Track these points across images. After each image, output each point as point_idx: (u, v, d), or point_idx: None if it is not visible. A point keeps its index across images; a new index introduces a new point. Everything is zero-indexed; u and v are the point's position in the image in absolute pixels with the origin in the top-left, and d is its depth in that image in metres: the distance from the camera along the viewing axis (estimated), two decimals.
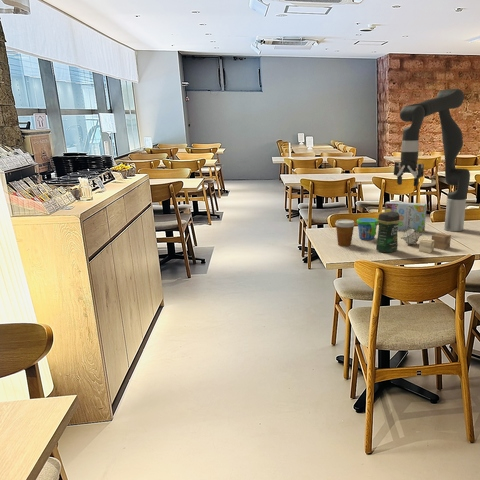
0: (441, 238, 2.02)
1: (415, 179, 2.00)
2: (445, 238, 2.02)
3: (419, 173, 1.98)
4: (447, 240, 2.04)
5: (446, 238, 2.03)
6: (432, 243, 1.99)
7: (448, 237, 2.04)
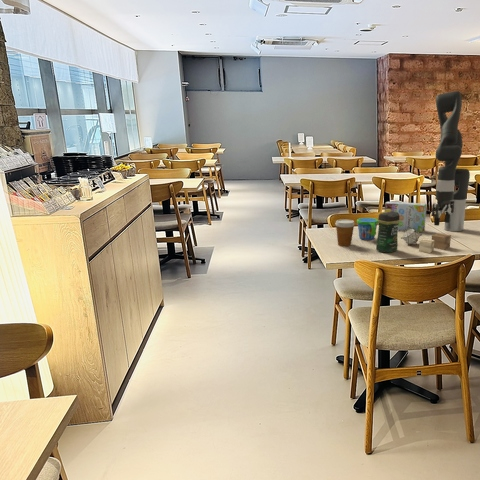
0: (441, 238, 2.02)
1: (449, 216, 2.05)
2: (445, 238, 2.02)
3: (453, 209, 2.05)
4: (447, 240, 2.04)
5: (446, 238, 2.03)
6: (432, 243, 1.99)
7: (448, 237, 2.03)
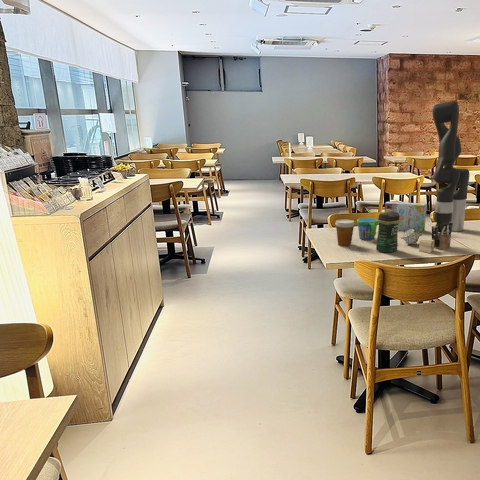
0: (441, 238, 2.02)
1: None
2: (445, 238, 2.02)
3: (450, 231, 2.07)
4: (447, 239, 2.04)
5: (446, 238, 2.03)
6: (432, 243, 1.99)
7: (448, 237, 2.03)
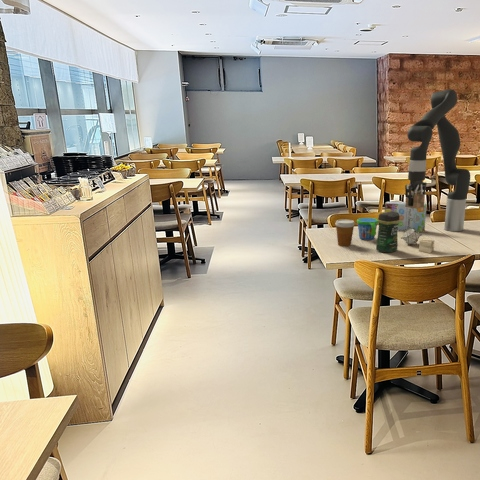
0: (415, 197, 2.03)
1: None
2: (419, 197, 2.03)
3: (424, 191, 2.08)
4: (421, 199, 2.04)
5: (420, 197, 2.04)
6: (432, 243, 1.99)
7: (422, 196, 2.04)
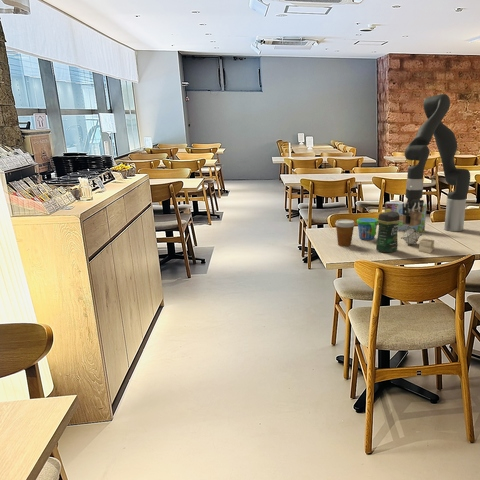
0: (412, 214, 2.06)
1: None
2: (416, 214, 2.06)
3: (422, 208, 2.11)
4: (418, 216, 2.07)
5: (417, 214, 2.06)
6: (432, 243, 1.99)
7: (419, 214, 2.07)
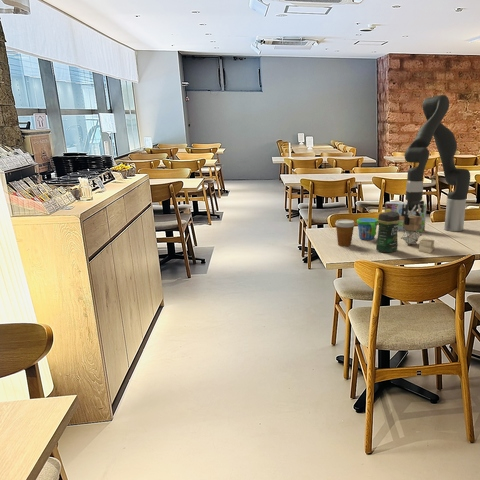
0: (412, 219, 2.06)
1: (419, 215, 2.11)
2: (416, 219, 2.06)
3: (423, 209, 2.11)
4: (418, 221, 2.08)
5: (417, 219, 2.07)
6: (432, 243, 1.99)
7: (419, 218, 2.08)
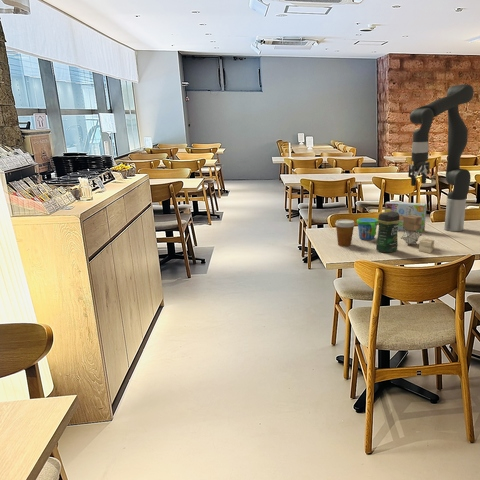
0: (412, 219, 2.06)
1: (425, 176, 2.16)
2: (416, 219, 2.06)
3: (428, 170, 2.16)
4: (418, 221, 2.08)
5: (417, 219, 2.07)
6: (432, 243, 1.99)
7: (419, 218, 2.08)
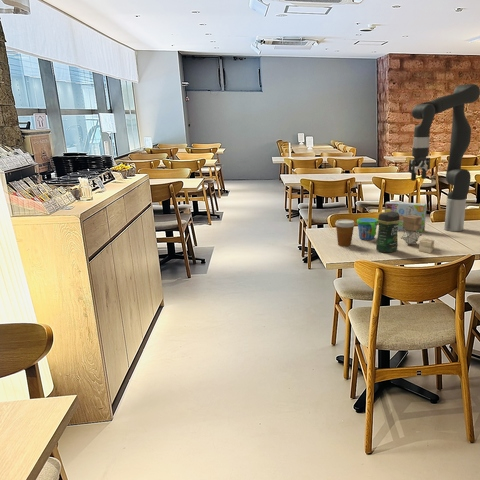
0: (412, 219, 2.06)
1: None
2: (416, 219, 2.06)
3: (429, 166, 2.17)
4: (418, 221, 2.08)
5: (417, 219, 2.07)
6: (432, 243, 1.99)
7: (419, 218, 2.08)
